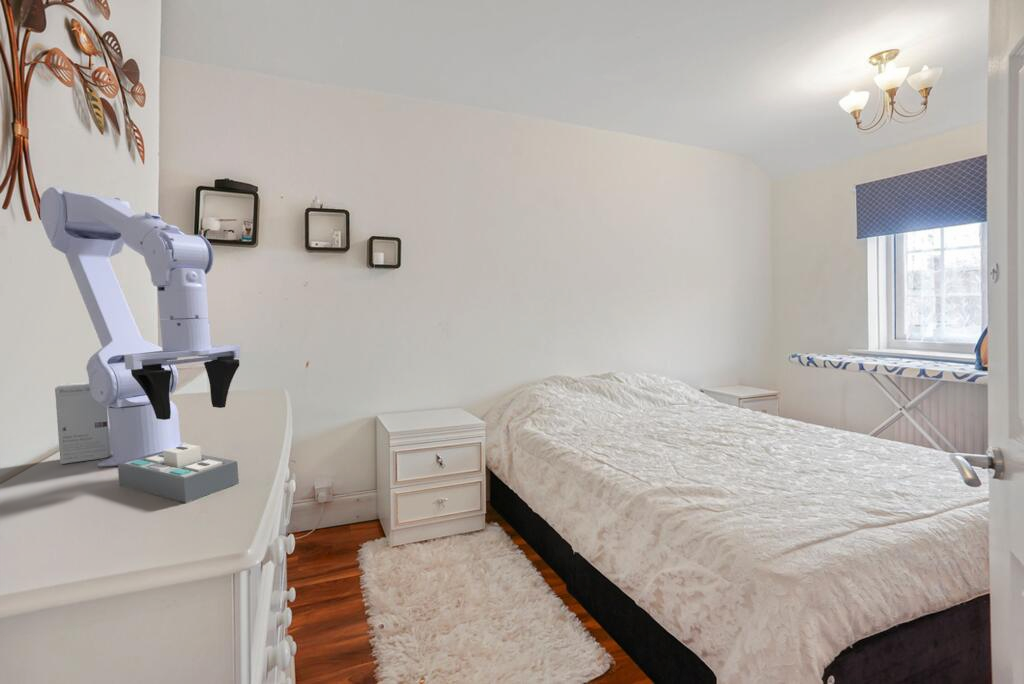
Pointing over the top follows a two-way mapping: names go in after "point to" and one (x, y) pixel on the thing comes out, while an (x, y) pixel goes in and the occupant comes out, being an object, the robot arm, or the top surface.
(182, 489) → the console
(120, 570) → the top surface
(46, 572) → the top surface
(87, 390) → the skincare box
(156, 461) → the button
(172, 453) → the button middle
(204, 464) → the button
